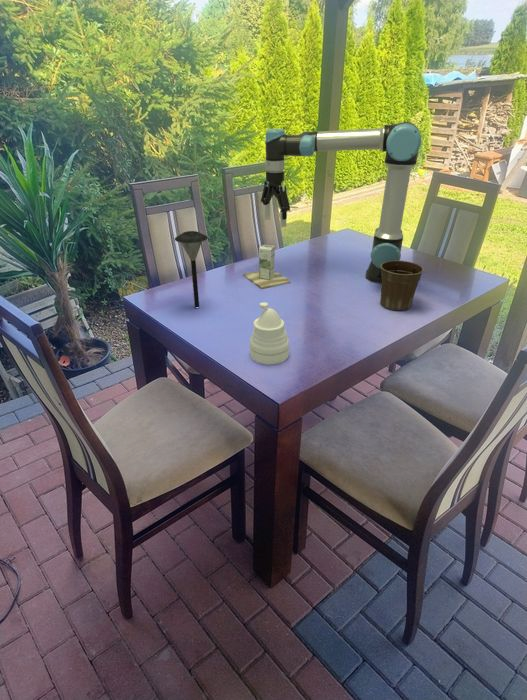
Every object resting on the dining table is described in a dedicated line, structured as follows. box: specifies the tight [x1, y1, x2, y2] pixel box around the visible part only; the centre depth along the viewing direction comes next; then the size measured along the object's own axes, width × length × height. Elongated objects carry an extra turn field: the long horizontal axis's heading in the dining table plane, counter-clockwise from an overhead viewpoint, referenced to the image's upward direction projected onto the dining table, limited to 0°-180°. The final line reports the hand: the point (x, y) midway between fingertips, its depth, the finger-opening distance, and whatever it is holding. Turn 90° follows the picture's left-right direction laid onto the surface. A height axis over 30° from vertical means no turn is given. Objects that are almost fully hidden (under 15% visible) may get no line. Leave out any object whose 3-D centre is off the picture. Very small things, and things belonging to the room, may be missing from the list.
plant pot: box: [379, 260, 424, 312], centre depth 177 cm, size 16×16×16 cm
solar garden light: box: [174, 230, 209, 308], centre depth 170 cm, size 12×12×30 cm
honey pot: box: [249, 301, 290, 366], centre depth 143 cm, size 13×13×18 cm
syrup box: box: [258, 244, 276, 280], centre depth 200 cm, size 6×6×14 cm
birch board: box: [242, 270, 291, 290], centre depth 204 cm, size 18×15×1 cm
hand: (274, 223), depth 193 cm, fingers open, 13 cm apart
